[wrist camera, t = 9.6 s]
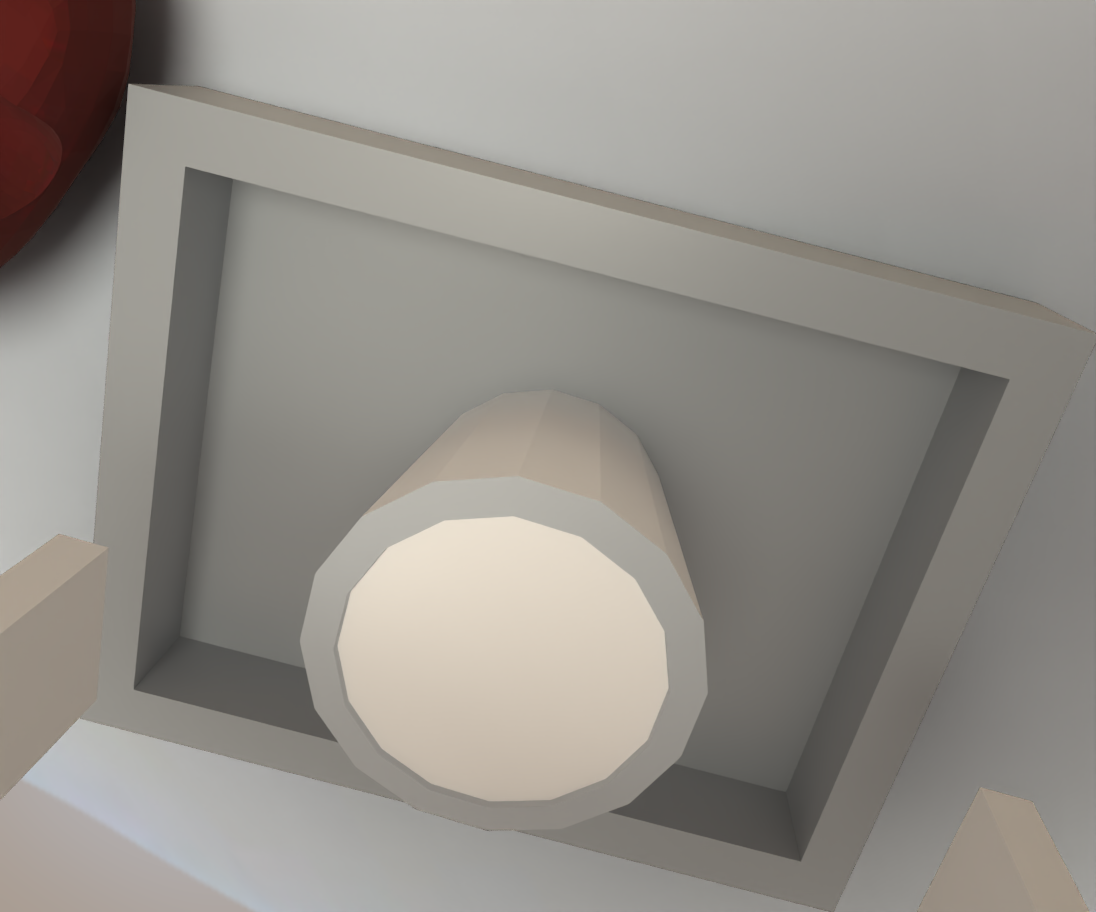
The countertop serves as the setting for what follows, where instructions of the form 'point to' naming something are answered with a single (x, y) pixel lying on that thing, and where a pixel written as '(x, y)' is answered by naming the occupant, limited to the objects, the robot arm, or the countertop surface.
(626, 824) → the tray
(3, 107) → the ashtray
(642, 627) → the white cup
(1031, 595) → the countertop surface
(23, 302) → the countertop surface
